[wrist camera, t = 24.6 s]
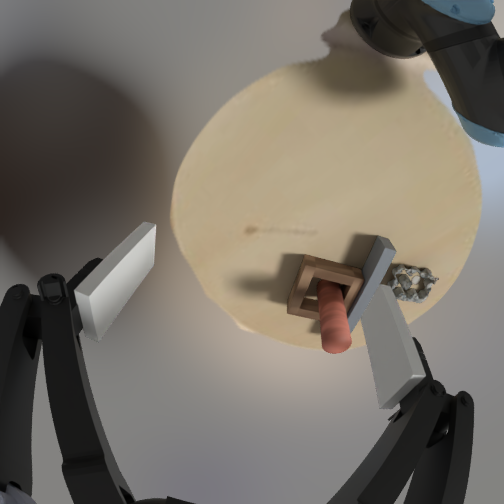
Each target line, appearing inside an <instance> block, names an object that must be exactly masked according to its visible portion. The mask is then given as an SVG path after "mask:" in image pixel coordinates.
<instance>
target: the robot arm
mask: <svg viewBox="0 0 504 504" xmlns="http://www.w3.org/2000/svg"><path fill="white" fill-rule="evenodd" d="M492 3H494V1H493V0H352V2H351V6H350V15H351V20H352V23H353V25H354V27H355V29H356V30H357V32H358V33H359V35H360V36H361V37H362V38H363V40H364V41H365V42H366V43H368V44H369V45H370V46H371V47H373V48H374V49H375V50H377V51H379V52H380V53H382V54H385V55H387V56H390V57H393V58H398V59H409V58H413V57H416V56H419V55H421V54H423V53H425V52H426V51H427V53H428V54H429V56H430V58H431V60H432V62H433V64H434V65H435V67H436V69H437V71H438V73H439V75H440V77H441V79H442V81H443V83H444V85H445V87H446V89H447V92H448V94H449V96H450V98H451V101H452V107H453V109H454V111H455V112H456V114H457V115H458V117H459V120H460V122H461V124H462V127H463V129H464V130H465V131H466V133H467V134H468V135H469V136H470V137H471V138H473V139H474V140H476V141H478V142H480V143H483V144H486V145H490V146H495V147H504V38H500V37H499V35H498V33H497V31H496V29H495V27H494V25H493V24H492V22H491V20H492V18H493V16H494V13H495V7H494V5H493V4H492ZM155 234H156V225H155V224H152V223H148V222H143V223H142V224H141V225H140V226H139V227H138V228H137V229H136V230H134V231H133V232H132V233H131V234H130V235H129V236H128V237H127V238H126V239H125V240H124V241H123V242H121V243H120V244H119V245H118V246H117V247H116V248H115V249H114V250H113V251H112V252H111V253H110V254H109V255H108V256H107V257H106V258H105V259H104V260H103V259H100V258H95V259H93V260H91V261H89V262H88V263H87V264H86V265H85V266H84V267H83V269H81V270H80V271H79V272H78V274H76V275H75V276H74V277H73V278H72V279H71V280H70V281H69V282H68V283H67V284H66V281H65V278H64V277H63V276H62V275H60V274H48V275H45V276H44V277H42V278H41V279H40V280H39V281H38V284H37V287H38V291H39V294H40V296H39V295H32V294H30V291H29V288H28V287H27V286H26V285H24V284H16V285H14V286H12V287H11V288H9V289H8V291H7V292H6V294H5V296H4V299H3V302H2V304H1V306H0V504H36V502H35V501H34V500H33V499H32V498H31V495H32V455H31V432H32V412H33V399H34V389H35V381H36V374H37V367H38V361H39V355H40V350H41V345H43V356H44V357H43V358H44V367H45V375H46V383H47V390H48V397H49V402H50V408H51V413H52V418H53V422H54V426H55V430H56V435H57V439H58V443H59V446H60V449H61V453H62V457H63V464H62V472H63V476H64V479H65V482H66V485H67V487H68V490H69V492H70V495H71V497H72V500H73V502H74V504H194V503H190V502H186V501H183V500H179V499H175V498H172V497H168V496H167V499H162V498H152V499H145V500H139V501H136V500H135V498H134V496H133V494H132V492H131V490H130V489H129V487H128V485H127V483H126V481H125V479H124V478H123V476H122V474H121V472H120V470H119V468H118V465H117V463H116V461H115V458H114V456H113V454H112V451H111V448H110V446H109V443H108V440H107V438H106V435H105V432H104V429H103V427H102V424H101V421H100V417H99V414H98V411H97V408H96V405H95V401H94V398H93V394H92V390H91V387H90V383H89V379H88V375H87V371H86V366H85V362H84V358H83V352H82V347H81V342H80V337H79V333H80V331H81V330H82V329H83V330H84V334H85V337H87V338H90V339H92V340H94V341H96V342H100V340H101V339H102V337H103V335H104V334H105V333H106V331H107V330H108V328H109V327H110V325H111V323H112V322H113V321H114V319H115V318H116V317H117V315H118V314H119V312H120V311H121V309H122V308H123V307H124V305H125V304H126V302H127V301H128V300H129V298H130V297H131V296H132V294H133V293H134V291H135V290H136V289H137V287H138V286H139V284H140V283H141V282H142V281H143V279H144V278H145V276H146V275H147V274H148V273H149V271H150V270H151V269H152V267H153V266H154V252H155ZM360 319H361V323H362V327H363V331H364V335H365V339H366V344H367V348H368V352H369V357H370V361H371V366H372V371H373V376H374V381H375V385H376V391H377V397H378V403H379V408H380V409H393V408H394V407H395V406H396V405H397V404H398V403H400V409H399V410H398V411H397V412H396V413H395V414H394V415H392V416H391V417H390V418H389V419H388V420H389V421H390V420H391V419H392V420H391V422H390V423H389V425H388V426H387V428H386V430H385V431H384V433H383V434H382V436H381V437H380V438H379V440H378V441H377V443H376V444H375V446H374V447H373V449H372V450H371V451H370V453H369V454H368V455H367V457H366V458H365V459H364V461H363V462H362V463H361V464H360V466H359V467H358V468H357V469H356V471H355V472H354V473H353V474H352V476H351V477H350V478H349V479H348V481H347V482H346V483H345V484H344V485H343V486H342V487H341V489H340V490H339V491H338V492H337V493H336V494H335V496H333V498H331V500H330V501H329V502H328V503H327V504H394V502H395V501H396V499H397V498H398V496H399V495H400V493H401V491H402V489H403V488H404V486H405V485H406V483H407V481H408V480H409V478H410V476H411V474H412V473H413V471H414V473H413V476H412V480H411V483H410V486H409V489H408V492H407V495H406V498H405V501H404V504H463V503H464V499H465V494H466V489H467V483H468V477H469V471H470V463H471V455H472V444H473V428H474V402H473V399H472V397H471V396H470V394H468V393H467V392H465V391H460V392H459V393H458V394H457V395H456V396H452V395H450V394H447V393H446V390H445V388H444V386H443V385H442V384H441V383H440V382H439V381H437V380H433V377H432V374H431V371H430V368H429V366H428V363H427V360H425V359H426V358H425V355H424V354H423V350H422V347H421V345H420V343H419V342H418V341H417V339H416V338H415V337H412V336H411V333H410V331H409V328H408V326H407V323H406V321H405V318H404V316H403V314H402V311H401V309H400V307H399V304H398V302H397V300H396V297H395V295H394V293H393V291H392V289H391V287H390V286H387V285H383V284H380V285H379V287H378V288H377V290H376V292H375V294H374V296H373V297H372V299H371V301H370V303H369V304H368V306H367V308H366V310H365V311H364V313H363V315H362V316H361V318H360ZM447 430H448V433H447V435H446V432H447ZM414 469H415V470H414Z"/></svg>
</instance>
